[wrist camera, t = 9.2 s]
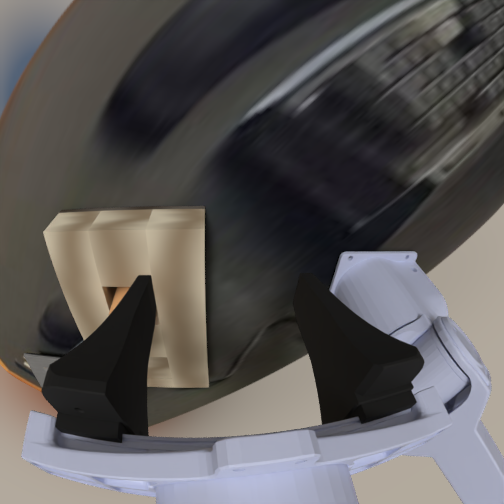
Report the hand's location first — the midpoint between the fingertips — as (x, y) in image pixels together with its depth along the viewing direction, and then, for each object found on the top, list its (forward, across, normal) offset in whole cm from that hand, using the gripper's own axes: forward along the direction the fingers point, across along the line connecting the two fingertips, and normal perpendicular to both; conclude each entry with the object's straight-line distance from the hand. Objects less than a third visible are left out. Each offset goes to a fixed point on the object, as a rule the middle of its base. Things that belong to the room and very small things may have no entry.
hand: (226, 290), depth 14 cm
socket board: (+9, +7, +10) cm, 15 cm away
